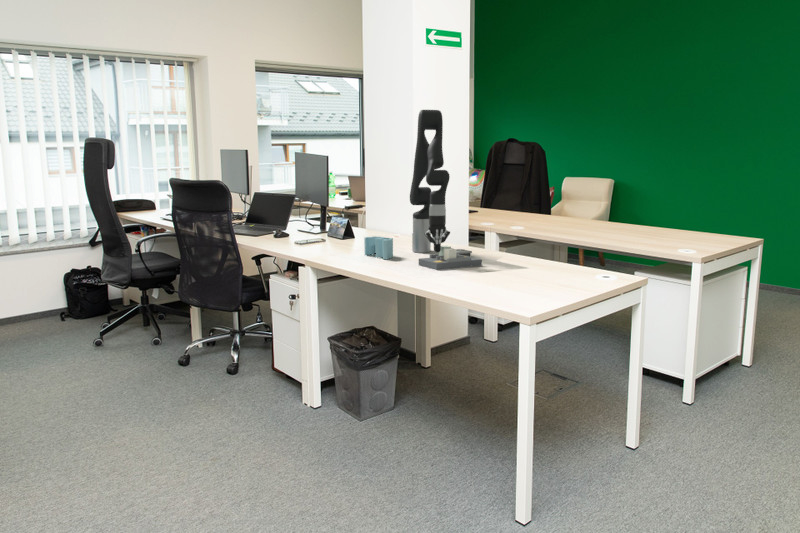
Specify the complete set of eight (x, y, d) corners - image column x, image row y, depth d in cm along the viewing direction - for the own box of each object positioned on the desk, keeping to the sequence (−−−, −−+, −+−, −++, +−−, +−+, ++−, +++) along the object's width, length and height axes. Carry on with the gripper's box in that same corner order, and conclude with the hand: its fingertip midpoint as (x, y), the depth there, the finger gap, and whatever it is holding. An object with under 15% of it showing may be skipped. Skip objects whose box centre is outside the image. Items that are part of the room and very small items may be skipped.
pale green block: (438, 256, 293) (438, 246, 292) (446, 256, 294) (446, 245, 294) (443, 258, 289) (443, 247, 288) (450, 257, 291) (450, 246, 290)
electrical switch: (445, 250, 311) (461, 245, 315) (447, 260, 312) (462, 255, 317) (456, 252, 303) (472, 247, 307) (458, 262, 304) (473, 258, 309)
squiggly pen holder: (399, 257, 315) (399, 238, 314) (385, 259, 308) (385, 240, 307) (373, 254, 327) (373, 236, 326) (360, 256, 320) (359, 237, 319)
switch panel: (418, 265, 290) (418, 255, 289) (462, 261, 301) (462, 251, 300) (436, 270, 276) (436, 259, 275) (481, 265, 287) (482, 256, 286)
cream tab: (443, 259, 283) (444, 248, 283) (451, 259, 285) (451, 248, 285) (448, 261, 280) (448, 249, 279) (456, 260, 282) (456, 249, 281)
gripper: (445, 213, 293) (445, 250, 296) (420, 214, 287) (420, 252, 290) (454, 214, 287) (453, 252, 289) (428, 215, 281) (428, 254, 283)
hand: (437, 252), depth 290 cm, fingers closed
